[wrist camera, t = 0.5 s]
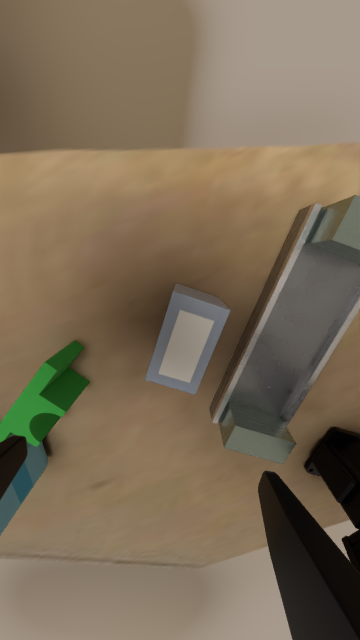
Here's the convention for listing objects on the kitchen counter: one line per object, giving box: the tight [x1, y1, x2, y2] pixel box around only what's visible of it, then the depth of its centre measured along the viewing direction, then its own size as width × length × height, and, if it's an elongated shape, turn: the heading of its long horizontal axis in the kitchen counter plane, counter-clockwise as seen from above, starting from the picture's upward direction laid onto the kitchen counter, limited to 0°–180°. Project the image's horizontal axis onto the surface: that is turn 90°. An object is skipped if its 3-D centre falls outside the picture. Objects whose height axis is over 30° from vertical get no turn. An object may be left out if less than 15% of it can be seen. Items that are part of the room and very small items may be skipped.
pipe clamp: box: [0, 341, 90, 447], centre depth 19 cm, size 11×4×5 cm, turn 139°
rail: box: [210, 195, 360, 464], centre depth 16 cm, size 7×20×4 cm, turn 162°
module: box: [145, 283, 231, 395], centre depth 16 cm, size 4×7×5 cm, turn 162°
